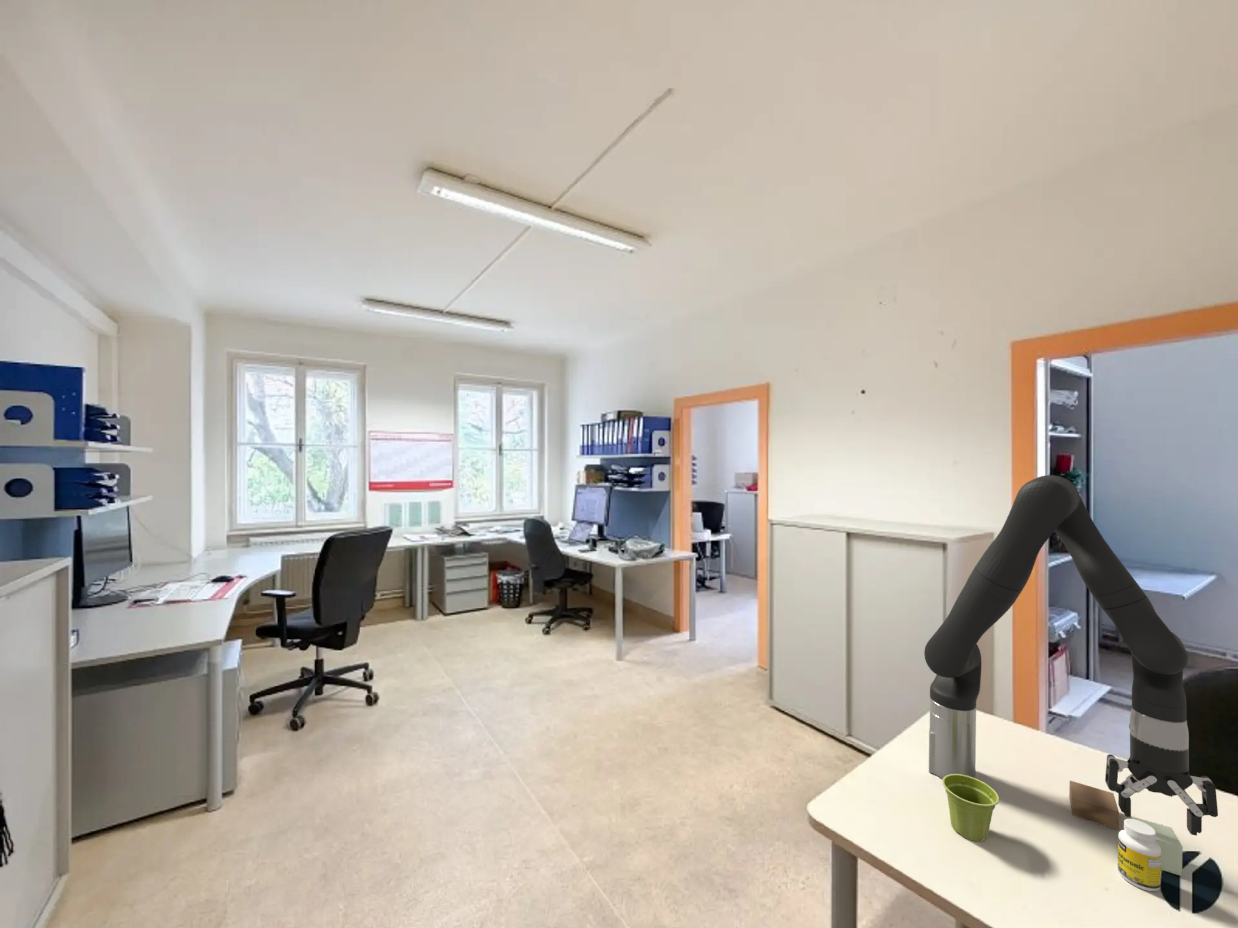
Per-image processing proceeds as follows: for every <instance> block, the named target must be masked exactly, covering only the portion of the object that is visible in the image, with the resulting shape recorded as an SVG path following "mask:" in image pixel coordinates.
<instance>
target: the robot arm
mask: <svg viewBox="0 0 1238 928" xmlns="http://www.w3.org/2000/svg"><path fill="white" fill-rule="evenodd" d="M1088 511H1089V510H1087V507H1086V505H1085V503H1084V500H1083V499H1082V497H1081V495H1080V493H1079V490H1078V489H1077V487H1076V486H1075V484H1074V483H1072V482H1071V481H1070V480H1069V479H1066V478H1065V477H1062V476H1060V475H1052V474H1048V475H1041V476H1038V477H1036V478H1033V479H1031V480H1030V481H1027V482H1026V483H1024V484H1023V485H1022V486H1020V489H1019V490H1018V491H1017V493H1016V496H1015V498H1014V500H1013V503H1012V506H1011V508H1010V511H1009V513H1008V516H1007V517H1006V519H1005V522H1004V524H1003V526H1002V527H1001V529H1000V531H999V533H998V534H997V536H996V537H995V539H994V540H992V542H991V543H990V544H989V546H988V547H987V549H986V550H985V551H984V552H983V554H982V556H981V557H980V559H978V561H977V563H976V565H975V566H974V568H973V570H972V571H971V573H970V575H969V576H968V578H967V580H966V581H965V584H964V586H963V588H962V590H961V591H960V593H959V594H958V596H957V598H956V600H955V602H954V604H953V606H952V608H951V610H950V612H949V614H948V615H947V617H946V618H945V619H944V621H943V622H942V624H941V625H940V626H939V627H938V628H937V630H936V631H935V632H934V634H933V635H932V636H931V637H930V638H929V640H928V641H927V642H926V644H925V646H924V654H923V655H924V659H925V663H926V664H927V667H928V668H929V670H930V671H931V672H932V673H934V674H935V675H936V676H934V677H935V678H934V679H933V681H932V682H931V684H930V688H929V730H928V732H929V733H928V772H929V773H931V774H934V775H935V776H937V777H939V778H940V779H942V780H943V778H944V777H945V776H946V775H950V774H961V775H966V776H970V777H973V778H975V779H976V753H977V752H976V751H977V750H976V745H977V743H976V742H977V739H976V737H977V734H976V733H977V699H978V697H979V695H980V691H981V681H982V680H981V679H982V654H981V653H982V652H981V650H980V647H979V646H978V642H979V641H980V639H981V638H982V637H983V635H985V633H986V632H988V630H989V629H991V627H993V626H994V625H996V623H997V622H998V621H999V620H1000V619H1001V618H1002V617H1003V616H1005V614H1006V613H1007V612H1008V611H1009V610H1010V609H1011V607H1013V605H1014V604H1015V602H1016V601H1017V599H1018V597H1019V596H1020V595H1021V593H1022V592H1023V590H1024V588H1025V586H1026V585H1027V583H1028V581H1029V579H1030V577H1031V575H1032V572H1033V571H1034V570H1033V569H1034V566H1035V563H1036V560H1037V558H1038V555H1039V553H1040V551H1041V549H1042V548H1043V546H1044V545H1045V544H1046V543H1047V541H1048V540H1049V538H1051V536H1052V535H1053V533H1056V535H1057V536H1058V537H1059V539H1060V540H1061V541H1062V543H1063V545H1064V546H1065V548H1066V549H1067V552H1068V553H1069V555H1070V557H1071V559H1072V561H1073V564H1074V565H1075V567H1076V569H1077V572H1078V574H1079V576H1080V578H1081V579H1082V581H1083V583H1084V584H1085V586H1086V587H1087V589H1088V590H1089V592H1090V594H1091V595H1092V597H1093V599H1095V601H1096V603H1098V605H1099V607H1100V608H1101V610H1103V612H1104V613H1105V614H1106V615H1107V616H1108V618H1109V619H1110V621H1111V622H1112V623H1113V624H1114V626H1115V628H1116V630H1117V632H1118V633H1119V635H1120V637H1121V638H1122V639H1123V642H1124V643H1125V645H1126V647H1127V648H1128V649H1129V651H1130V653H1131V654H1130V655H1131V664H1132V674H1133V675H1132V677H1133V678H1132V679H1133V680H1132V685H1131V686H1132V687H1131V709H1130V710H1131V711H1130V716H1129V724H1128V728H1129V758H1128V759H1127V760H1123V759H1120V758H1116V756H1115V755H1113V754H1107V755H1106V764H1105V765H1106V767H1105V775H1104V776H1105V778H1104V781H1105V784H1106V786H1107V788H1108V789H1109V791H1110V792H1111V791H1112V792H1115V793H1117V794H1118V796H1117V797H1118V800H1117V801H1118V802H1117V803H1118V804H1117V806H1118V808H1119V810H1120V811H1121V813H1123V814H1124V816H1125V817H1126V818H1129V819H1131V817H1132V799H1131V797H1132V796H1133V795H1135V794H1137V793H1138V794H1139V793H1141V792H1142V791H1144V790H1145V789H1146V790H1147V791H1148V792H1150V793H1157V794H1163V795H1165V796H1168V797H1170V798H1172V797H1173V796H1177V797H1179V799H1180V800H1181V801H1182V802H1183V804H1185V806H1187V808H1186V829H1187V831H1188V832H1189V835H1191V836H1197V835H1198V834H1201V833H1202V832H1203V831H1202V829H1203V828H1202V827H1203V826H1202V823H1203V821H1202V820H1203V817H1204V816H1210V817H1213V818H1217V817H1218V816H1219V809H1218V800H1217V799H1218V798H1217V789H1216V785H1215V783H1213V781H1212V780H1211V779H1210V778H1209V776H1207V775H1201V776H1200V777H1199V776H1194V775H1190V772H1189V771H1190V764H1189V763H1190V758H1189V757H1190V756H1189V755H1190V753H1189V752H1190V751H1189V750H1190V749H1189V747H1190V746H1189V745H1190V744H1189V741H1190V737H1189V736H1190V735H1189V734H1190V733H1189V727H1188V720H1187V696H1186V693H1185V689H1184V684H1183V682H1184V681H1183V680H1184V679H1183V677H1184V676H1183V675H1184V670H1185V668H1187V665H1188V663H1189V655H1188V651H1187V649H1186V647H1185V645H1184V643H1183V641H1182V640H1181V639H1180V638H1179V636H1177V634H1175V633H1174V632H1172V631H1171V629H1170V628H1169V627H1168V626H1167V625H1166V623H1165V622H1164V621H1163V620H1162V619H1161V618H1160V615H1158V613H1157V611H1156V610H1155V608H1154V606H1153V603H1152V602H1151V600H1150V598H1149V597H1148V595H1147V594H1146V593H1145V592H1144V590H1143V589H1142V588H1141V586H1140V585H1139V583H1137V581H1136V580H1135V579H1134V577H1133V576H1132V575H1131V573H1130V572H1129V570H1128V569H1127V568H1126V566H1125V564H1123V562H1122V561H1121V560H1120V558H1119V557H1118V556H1117V555H1116V553H1115V552H1114V551H1113V549H1112V548H1111V547H1110V545H1109V544H1108V542H1107V541H1106V539H1105V538H1104V537H1103V535H1102V534H1101V532H1100V530H1099V529H1098V528H1097V526H1096V524H1095V523H1094V521H1093V519H1092V517H1091V515H1090V513H1089V512H1088ZM1124 769H1128V770H1129V772H1130V773H1131V774H1129V775H1128V776H1126V778H1125V780H1124V781H1122V782H1121V783H1119V782H1118V779H1119V778H1118V777H1119V773H1121V772H1123V771H1124ZM1192 785H1196V788H1198V790H1199V791H1200V792H1201V801H1202V803H1196V802H1195V800H1194V799H1193V798H1192V796H1191V795H1189V793H1188V792H1187V791H1186V790H1187V789H1188V788H1190V787H1191V786H1192Z"/></svg>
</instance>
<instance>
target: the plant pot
mask: <svg viewBox="0 0 1238 928" xmlns="http://www.w3.org/2000/svg"><path fill="white" fill-rule="evenodd" d="M942 785H943V788H944V789H945V793H946V795H947V796H946V797H947V801H948V803H947V804H948V809H949V817H950V825H951V828H952V829H953V831H955V832H956V833H959V834H960V835H961V836H962V837H963V838H965V839H968V840H971V841H974V842H983V841H984V840H987V839H988V836H989V831H990V826H991V822H992V818H993V817H992V816H993V812H994V810H995V809H996V806H997V805H998V804H999V802H1000V797H999V795H998V793H997V792H996V791H995V789H994V788H992V787H991V786H990V785H989V784H988V783H986V782H984V781H982V780H980V779H977V778H976V777H975V778H973V777H970V776H966V775H961V774H950V775H946V776H945V777H944V778H943V779H942Z"/></svg>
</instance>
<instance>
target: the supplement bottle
mask: <svg viewBox="0 0 1238 928" xmlns="http://www.w3.org/2000/svg"><path fill="white" fill-rule="evenodd" d="M1117 838H1118V839H1117V871H1118V873H1119V875H1120V876H1121V877H1122V878H1123V879H1124V880H1125V881H1126V882H1128V883H1129V884H1131V885H1132V886H1134V887H1136V888H1138V889H1140V890H1143V891H1148V892H1158V891H1159V890H1160V889H1161V885H1162V870H1161V848H1160V846H1159V844H1158V843H1157V842H1156V832H1155V830H1154V829H1153V828H1152V827H1151V826H1149V825H1147V824H1146V823H1144V822H1141V821H1138V820H1135V819H1131V818H1126V819H1124V820H1123V829H1121V830H1120V831H1119V832H1118V835H1117Z"/></svg>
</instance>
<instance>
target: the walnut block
mask: <svg viewBox="0 0 1238 928" xmlns="http://www.w3.org/2000/svg"><path fill="white" fill-rule="evenodd" d="M1068 790H1069V795H1068V798H1069V804H1070V809H1071V815H1072V816H1073V817H1077V818H1079V819H1083V820H1086V821H1089V822H1092V823H1095V824H1098V825H1101V826H1105V827H1107V828H1111V829H1114V830H1116V831H1119V830H1120V829H1119V828H1120V827H1119V824H1120V811H1119V810H1120V809H1119V806H1118V804H1117V800H1116V797H1115V794H1114V792H1111V791H1108V790H1105V789H1100V788H1097V787H1093V786H1090V785H1087V784H1083V783H1081V782H1076V781H1073V780H1069V789H1068Z"/></svg>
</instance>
